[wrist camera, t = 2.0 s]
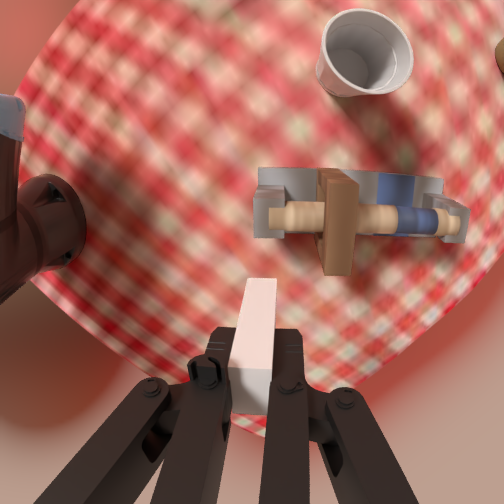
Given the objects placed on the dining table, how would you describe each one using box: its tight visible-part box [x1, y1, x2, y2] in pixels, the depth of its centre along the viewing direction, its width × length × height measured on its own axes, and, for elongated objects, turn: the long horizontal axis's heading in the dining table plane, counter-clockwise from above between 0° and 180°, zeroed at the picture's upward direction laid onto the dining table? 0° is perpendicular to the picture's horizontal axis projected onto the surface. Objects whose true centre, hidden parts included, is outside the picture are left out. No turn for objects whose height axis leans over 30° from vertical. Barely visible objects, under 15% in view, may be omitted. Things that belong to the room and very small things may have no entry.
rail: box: [253, 167, 471, 243], centre depth 32 cm, size 24×8×8 cm, turn 91°
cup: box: [316, 8, 414, 97], centre depth 24 cm, size 8×8×12 cm
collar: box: [314, 168, 360, 276], centre depth 30 cm, size 2×8×10 cm, turn 1°
